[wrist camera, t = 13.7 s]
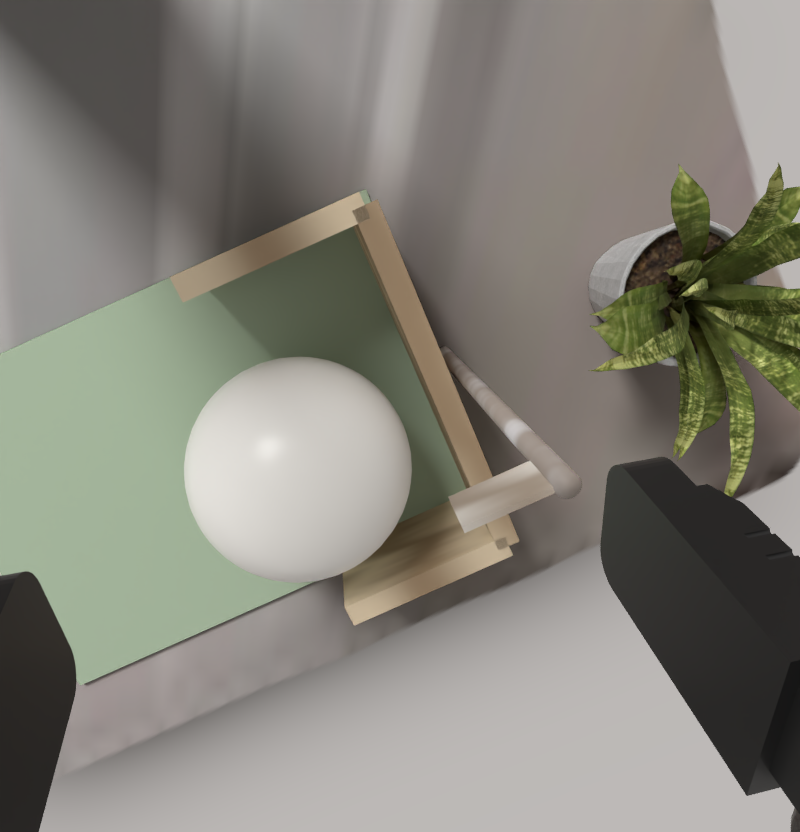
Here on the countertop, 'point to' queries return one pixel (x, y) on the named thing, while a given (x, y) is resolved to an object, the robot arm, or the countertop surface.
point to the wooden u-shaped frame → (484, 495)
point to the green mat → (175, 442)
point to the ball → (297, 469)
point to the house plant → (706, 309)
